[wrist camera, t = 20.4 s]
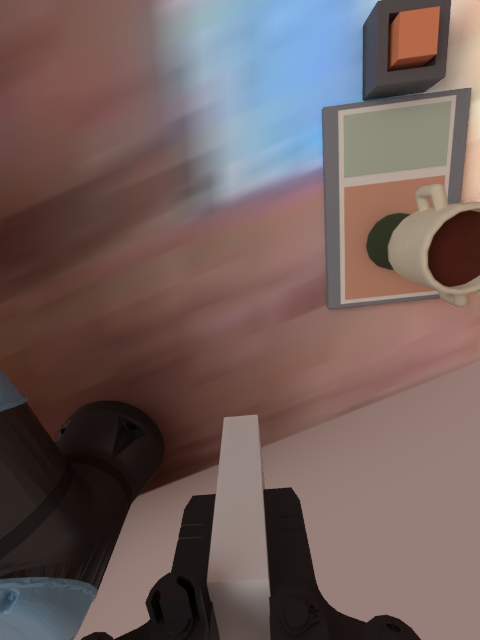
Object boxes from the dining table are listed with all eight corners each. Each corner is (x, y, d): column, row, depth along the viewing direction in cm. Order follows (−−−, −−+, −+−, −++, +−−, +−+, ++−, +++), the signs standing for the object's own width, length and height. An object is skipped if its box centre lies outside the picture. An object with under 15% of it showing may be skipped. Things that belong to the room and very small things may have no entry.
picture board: (327, 307, 39) (329, 309, 38) (321, 110, 32) (324, 106, 32) (446, 295, 38) (451, 296, 37) (465, 90, 32) (472, 86, 31)
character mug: (432, 272, 37) (527, 297, 24) (374, 295, 38) (438, 330, 25) (410, 181, 34) (506, 157, 21) (347, 208, 35) (405, 200, 22)
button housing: (362, 100, 32) (376, 86, 29) (363, 25, 30) (377, 1, 27) (424, 92, 32) (445, 76, 29) (428, 15, 30) (451, -11, 27)
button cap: (383, 74, 30) (398, 59, 27) (384, 32, 29) (399, 11, 26) (418, 69, 30) (436, 53, 27) (420, 27, 29) (440, 6, 26)
